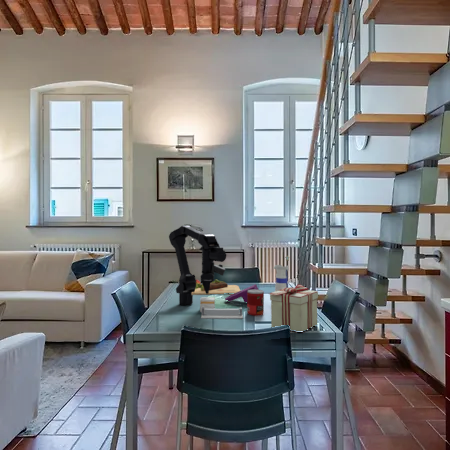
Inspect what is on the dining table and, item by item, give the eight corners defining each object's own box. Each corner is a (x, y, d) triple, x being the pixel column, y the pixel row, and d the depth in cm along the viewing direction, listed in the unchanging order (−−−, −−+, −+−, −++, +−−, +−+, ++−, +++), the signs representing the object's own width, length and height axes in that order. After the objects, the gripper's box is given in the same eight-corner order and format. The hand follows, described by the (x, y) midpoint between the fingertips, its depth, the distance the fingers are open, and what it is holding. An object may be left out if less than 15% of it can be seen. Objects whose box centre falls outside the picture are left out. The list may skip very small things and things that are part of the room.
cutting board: (182, 295, 228) (182, 283, 228) (184, 288, 252) (184, 276, 252) (241, 295, 230) (241, 282, 230) (237, 288, 254) (238, 276, 254)
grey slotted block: (200, 312, 188) (200, 299, 188) (200, 309, 194) (200, 297, 194) (214, 312, 188) (214, 299, 188) (214, 309, 194) (214, 297, 194)
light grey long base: (201, 318, 177) (201, 310, 176) (202, 313, 186) (202, 305, 185) (242, 318, 177) (242, 310, 177) (241, 313, 186) (241, 305, 186)
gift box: (280, 318, 177) (280, 281, 176) (318, 325, 166) (319, 285, 166) (261, 327, 163) (262, 286, 162) (302, 335, 152) (303, 292, 152)
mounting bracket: (229, 314, 206) (260, 301, 202) (223, 300, 207) (253, 287, 203) (233, 310, 215) (262, 298, 212) (226, 296, 216) (256, 284, 212)
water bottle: (276, 298, 220) (277, 254, 220) (291, 299, 216) (291, 255, 215) (271, 300, 213) (271, 255, 213) (285, 302, 209) (286, 256, 208)
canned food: (259, 316, 180) (259, 293, 180) (244, 314, 184) (244, 291, 184) (266, 313, 187) (266, 290, 186) (251, 311, 191) (251, 288, 191)
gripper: (224, 262, 181) (224, 295, 182) (224, 257, 200) (223, 288, 200) (200, 262, 181) (200, 295, 182) (202, 257, 200) (202, 287, 200)
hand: (207, 291), depth 191 cm, fingers open, 9 cm apart
